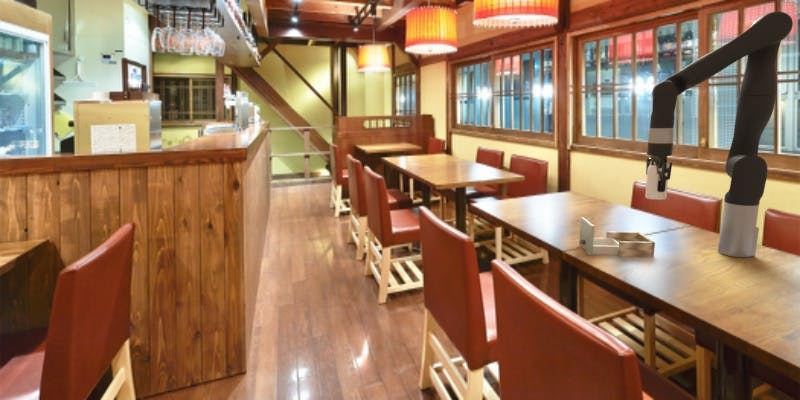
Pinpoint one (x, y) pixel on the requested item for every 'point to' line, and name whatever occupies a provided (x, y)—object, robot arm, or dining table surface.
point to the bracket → (595, 240)
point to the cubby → (632, 244)
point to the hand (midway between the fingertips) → (656, 189)
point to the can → (654, 184)
